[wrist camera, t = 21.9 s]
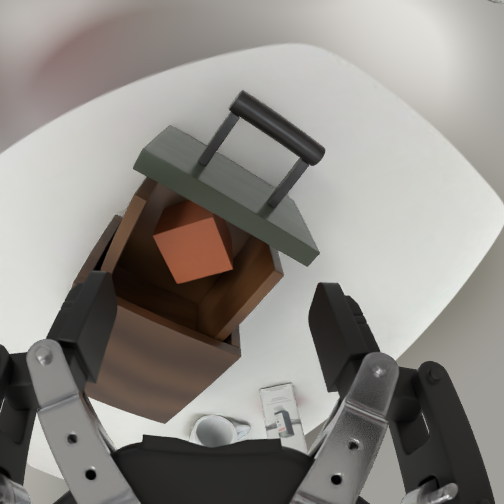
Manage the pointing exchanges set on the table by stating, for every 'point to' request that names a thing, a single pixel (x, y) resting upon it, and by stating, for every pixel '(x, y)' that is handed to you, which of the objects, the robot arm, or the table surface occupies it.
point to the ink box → (283, 416)
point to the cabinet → (153, 355)
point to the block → (193, 242)
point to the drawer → (223, 205)
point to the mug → (216, 431)
